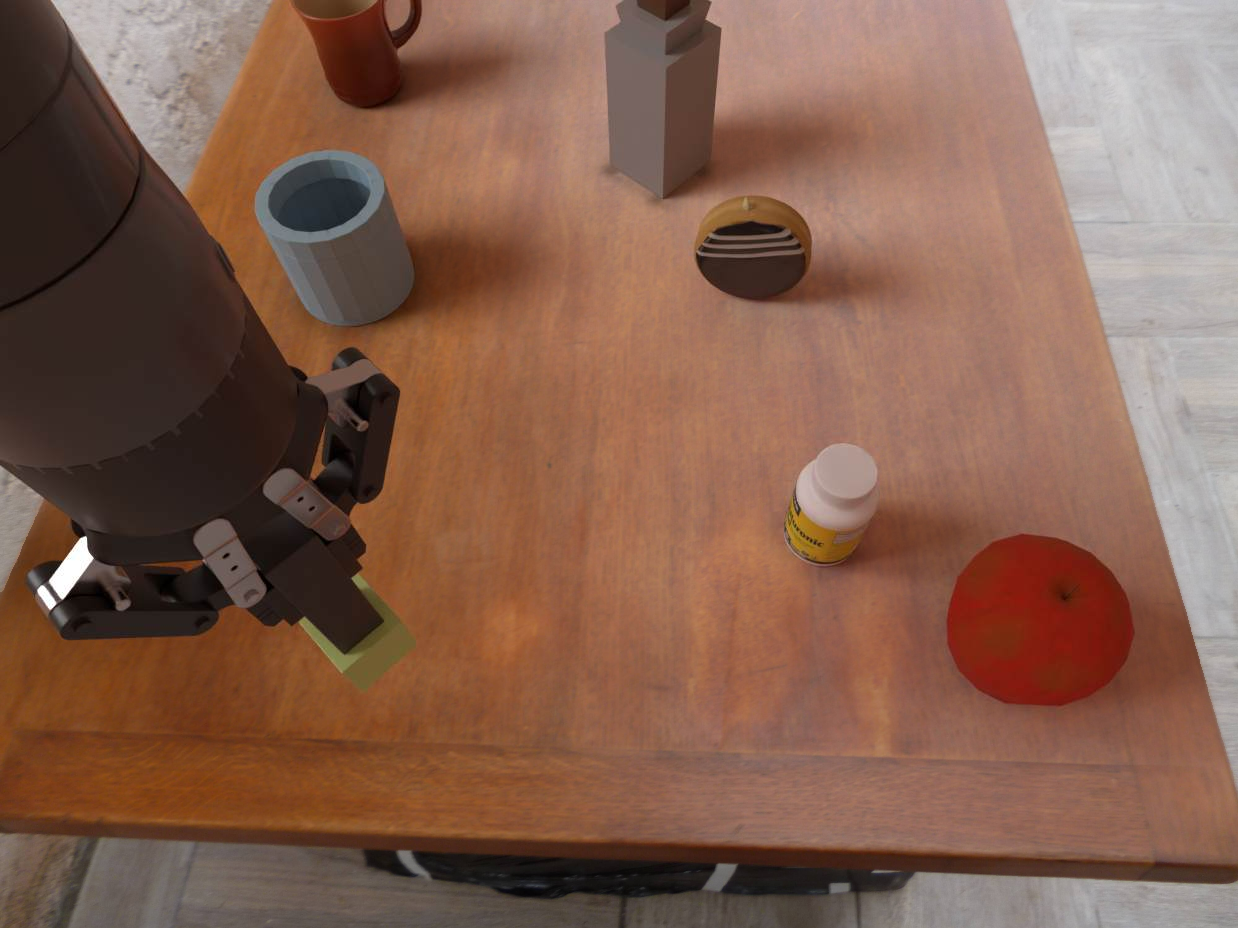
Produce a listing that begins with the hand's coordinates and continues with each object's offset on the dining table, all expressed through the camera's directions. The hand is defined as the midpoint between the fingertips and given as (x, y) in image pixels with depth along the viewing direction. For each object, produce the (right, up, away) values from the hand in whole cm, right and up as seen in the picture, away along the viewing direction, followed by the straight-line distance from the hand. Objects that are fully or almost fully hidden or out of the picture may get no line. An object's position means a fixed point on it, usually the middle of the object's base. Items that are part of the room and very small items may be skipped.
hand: (314, 582), depth 37 cm
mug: (-11, +44, +51) cm, 69 cm away
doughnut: (+24, +20, +37) cm, 48 cm away
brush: (0, -4, +8) cm, 9 cm away
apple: (+39, -7, +21) cm, 45 cm away
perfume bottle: (+17, +34, +44) cm, 58 cm away
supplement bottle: (+28, 0, +25) cm, 37 cm away
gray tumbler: (-10, +21, +38) cm, 45 cm away
